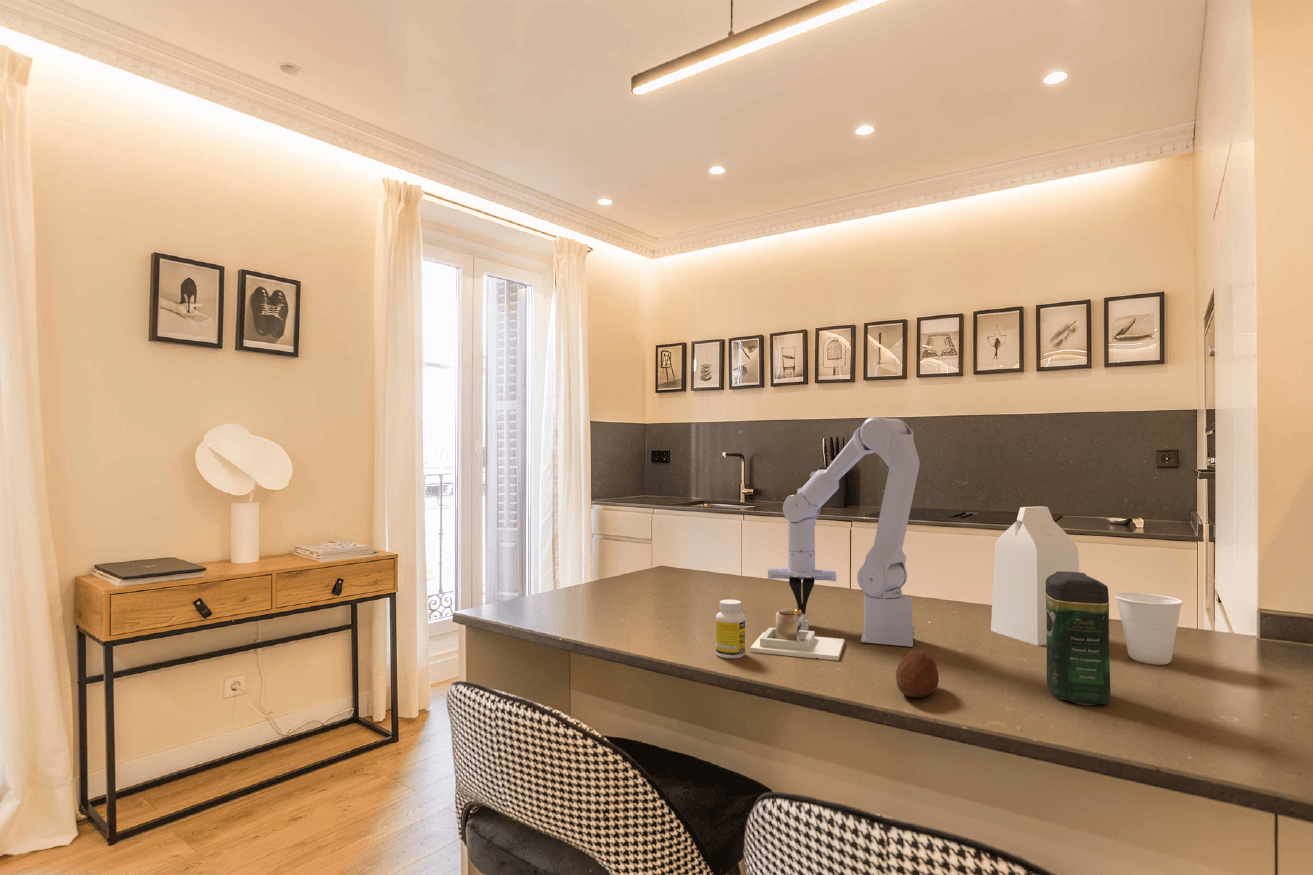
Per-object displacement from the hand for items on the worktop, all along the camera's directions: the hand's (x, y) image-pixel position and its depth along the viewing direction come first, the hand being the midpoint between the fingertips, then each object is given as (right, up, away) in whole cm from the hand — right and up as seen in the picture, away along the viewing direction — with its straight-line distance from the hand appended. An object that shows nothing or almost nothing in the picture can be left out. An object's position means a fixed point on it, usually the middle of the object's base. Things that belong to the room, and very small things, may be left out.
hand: (802, 612), depth 148 cm
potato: (+8, -2, -43) cm, 44 cm away
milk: (+45, -2, -10) cm, 46 cm away
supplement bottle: (-18, -2, -23) cm, 29 cm away
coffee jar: (+32, -1, -45) cm, 55 cm away
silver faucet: (-3, -2, -8) cm, 9 cm away
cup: (+56, -2, -27) cm, 62 cm away
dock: (-3, -2, -13) cm, 14 cm away
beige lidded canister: (-7, -2, -18) cm, 19 cm away
